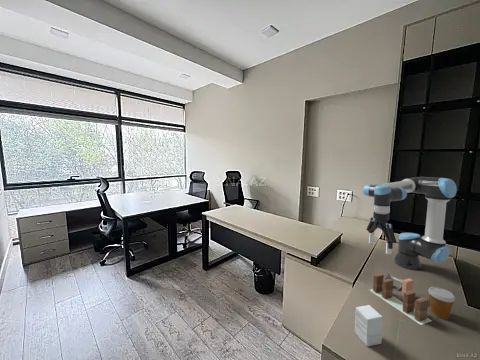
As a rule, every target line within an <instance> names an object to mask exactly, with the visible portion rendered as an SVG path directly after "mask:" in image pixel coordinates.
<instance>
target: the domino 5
mask: <svg viewBox="0 0 480 360" xmlns="http://www.w3.org/2000/svg"><path fill="white" fill-rule="evenodd" d="M428 307H429V299H428V298H425V297H424V296H423V297H420V298H417V299H416V298H415V304H414V309H415V318H414V319H416V320H417V321H419V322H420V321H423V320H425V319H427V318H428Z"/></svg>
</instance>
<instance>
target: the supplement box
mask: <svg viewBox="0 0 480 360" xmlns="http://www.w3.org/2000/svg"><path fill="white" fill-rule="evenodd" d="M354 316H355V317H354V318H355V319H354V333H355V335H356V336H357V337H358V338H359V339H360V341H362V343H363V344H364V345H365V347H370V346H375V345H379V344H380V345H381V344H382V338H383V316H382V315H381V314H380V313H379V312H378V311H377V310H376V309H374V307H372V305H370V304H367V305H361V306H356V307H355V313H354Z"/></svg>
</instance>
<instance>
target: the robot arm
mask: <svg viewBox="0 0 480 360" xmlns="http://www.w3.org/2000/svg"><path fill="white" fill-rule="evenodd" d="M457 189H458V188H457V184H456V183H455V181H454V180H453V179H451V178H446V177H432V176H431V177H429V176H416V177H411V178H404V179H402V180H399V181H394V182H387V183H379V184H366V185H364V186H363V188H362V193H363V194H364V196H367V197H371V198H372V197H373V198H374V199H373V200H374V201H373V216H372V217H370V220H369V223H368V225H367V227H366V231H367V232H368V244H374V243H375V231H376V230H377V229H380V230H381V231H382V233H383V235H384V237H385V238H386V242H385V244H386V245H385V254H386V255H392V251H393V247H394V245H393V244H397V239H396V236H395V231H394V230H393V229H394V228H393V224H392V223H388V221H389V220H390V213H391V208H390V207H391V202H397V201H402V200H405V199H406V198H407V196H408V194H409V193H414V194H422V195H425V197H424V198H425V199H426V200H427V208H426V209H427V210H426V217H425V228H424V235H422V236H421V235H420V234H419V233H414V232H401V233H400V234H399V235H398V248H397V251H398V252H396V256H395V257H394V263H395V265H397V266H399V267H402V268H404V269H407V270H413V271H417V270H418V271H419V270H421V269H422V266H423V265H422V262H421V259H420V257H422V258H425V259H427V260H429V261H432V262H436V263H444V262H445V261H446V260H447V259H448V257H450V253H451V249H450V246H448V245H446V244H447V242H446V240H444V230H445V223H446V222H445V221H446V211H447V203H449V202H450V201H451V199H452V198H454V197H455V196H456V194H457Z"/></svg>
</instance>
